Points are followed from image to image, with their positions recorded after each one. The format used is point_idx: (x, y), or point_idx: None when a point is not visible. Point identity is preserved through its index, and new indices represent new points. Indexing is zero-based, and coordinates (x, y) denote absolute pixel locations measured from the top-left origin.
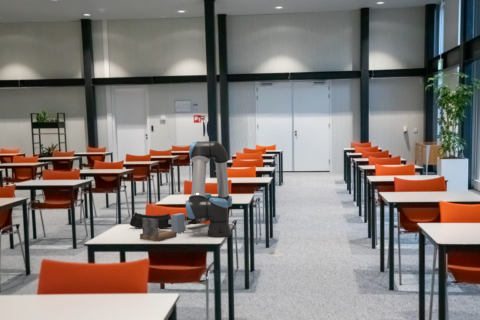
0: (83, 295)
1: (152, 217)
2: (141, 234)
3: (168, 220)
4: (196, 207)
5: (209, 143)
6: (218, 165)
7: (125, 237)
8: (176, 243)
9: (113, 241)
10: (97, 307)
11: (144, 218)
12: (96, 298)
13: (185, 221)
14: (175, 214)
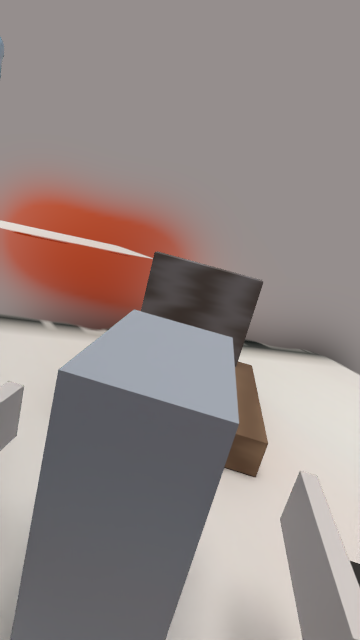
0: (78, 243)
1: None
2: (239, 363)
3: (313, 480)
4: None
5: None
6: None
7: (333, 409)
8: (13, 324)
9: (295, 368)
10: (46, 232)
11: (244, 275)
12: (59, 238)
13: (2, 393)
14: (198, 344)
